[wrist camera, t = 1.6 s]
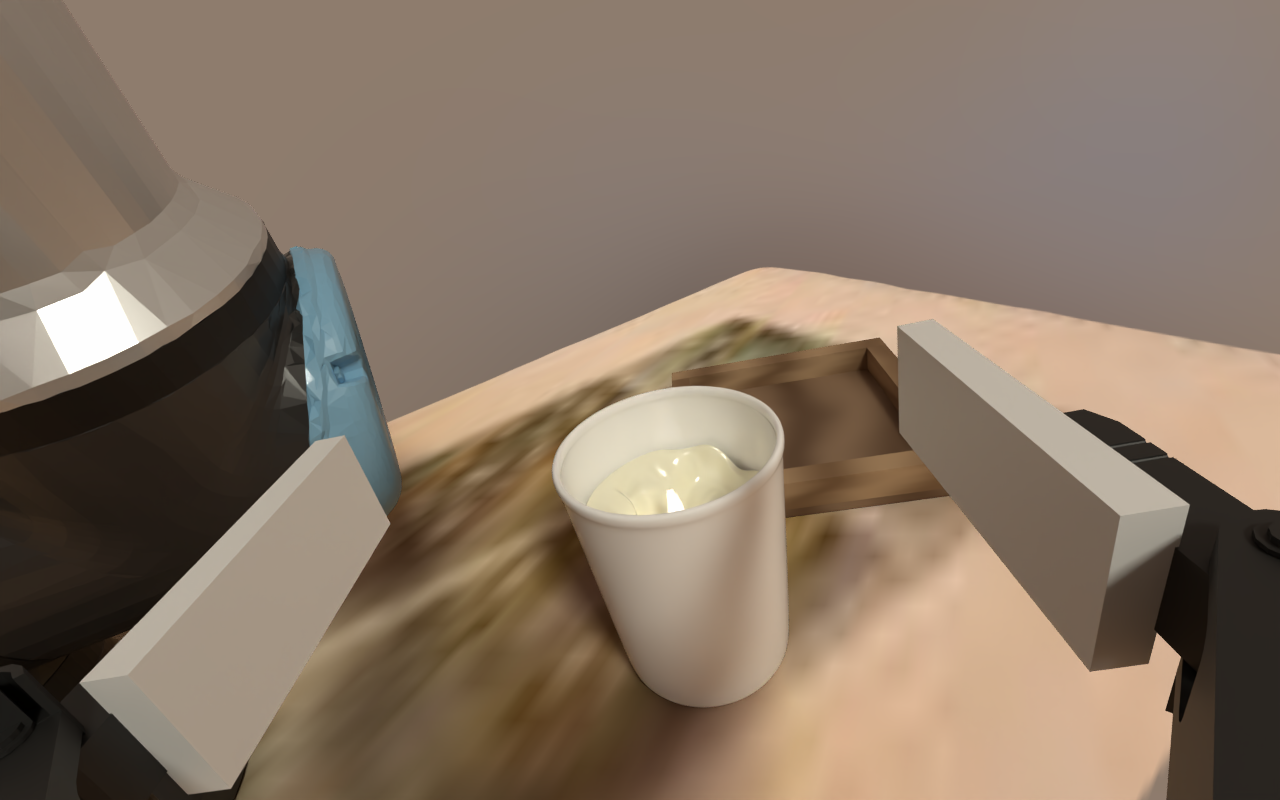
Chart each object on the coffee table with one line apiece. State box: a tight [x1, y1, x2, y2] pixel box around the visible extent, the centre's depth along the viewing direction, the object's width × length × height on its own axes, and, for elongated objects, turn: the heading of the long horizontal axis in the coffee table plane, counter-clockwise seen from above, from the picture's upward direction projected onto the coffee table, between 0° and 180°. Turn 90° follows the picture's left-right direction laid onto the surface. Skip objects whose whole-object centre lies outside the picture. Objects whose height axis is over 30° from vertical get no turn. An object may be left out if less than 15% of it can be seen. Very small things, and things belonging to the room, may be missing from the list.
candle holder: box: [552, 386, 789, 707], centre depth 27 cm, size 10×10×12 cm
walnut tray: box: [672, 338, 949, 517], centre depth 43 cm, size 18×18×3 cm
